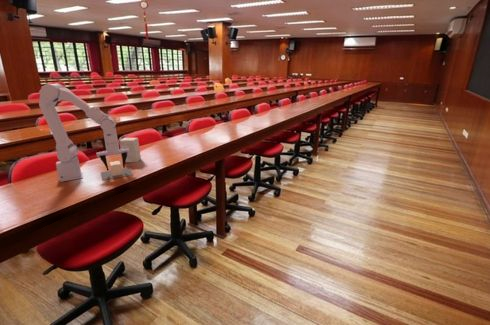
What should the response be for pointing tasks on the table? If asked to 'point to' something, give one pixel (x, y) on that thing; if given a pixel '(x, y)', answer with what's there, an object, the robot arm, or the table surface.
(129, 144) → the small box
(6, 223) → the table surface
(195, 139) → the table surface
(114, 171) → the eraser block
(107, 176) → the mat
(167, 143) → the table surface
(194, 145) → the table surface
